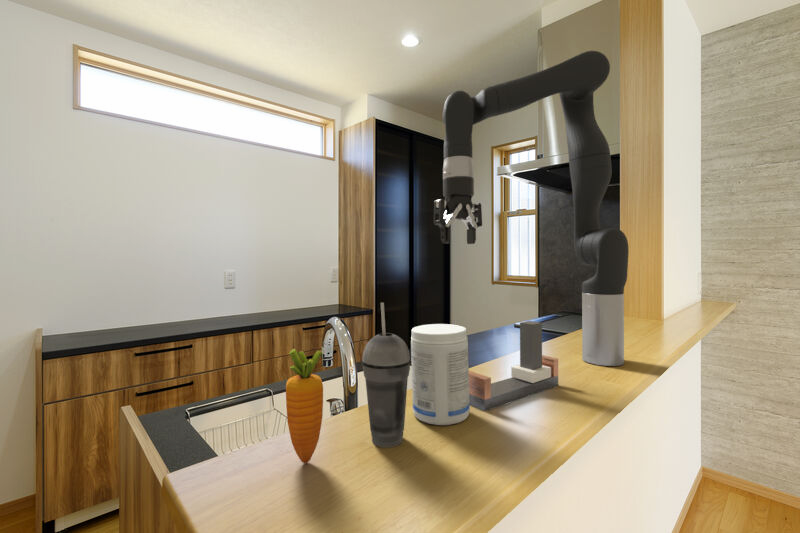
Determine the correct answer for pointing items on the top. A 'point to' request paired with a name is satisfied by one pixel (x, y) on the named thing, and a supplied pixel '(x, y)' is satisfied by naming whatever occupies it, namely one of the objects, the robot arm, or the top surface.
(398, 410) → the beverage cup
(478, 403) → the rail
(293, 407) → the carrot
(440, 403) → the supplement tub
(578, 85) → the robot arm
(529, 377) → the block
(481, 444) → the top surface
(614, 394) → the top surface
